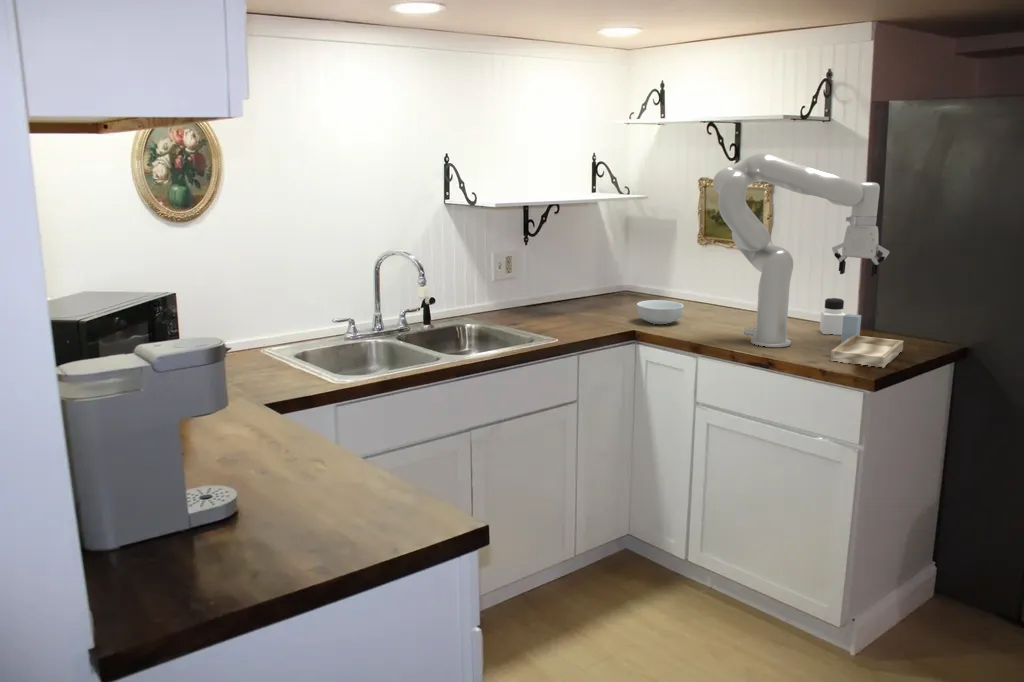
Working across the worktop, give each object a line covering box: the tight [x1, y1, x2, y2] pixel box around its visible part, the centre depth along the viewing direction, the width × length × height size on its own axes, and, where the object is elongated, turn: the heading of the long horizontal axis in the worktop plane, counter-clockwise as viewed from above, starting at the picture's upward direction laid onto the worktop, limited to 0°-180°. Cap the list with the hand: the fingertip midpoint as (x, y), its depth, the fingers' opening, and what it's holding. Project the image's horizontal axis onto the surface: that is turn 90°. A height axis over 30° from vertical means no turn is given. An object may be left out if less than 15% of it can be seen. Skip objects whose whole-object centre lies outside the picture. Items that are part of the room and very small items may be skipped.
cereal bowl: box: [636, 299, 684, 325], centre depth 307 cm, size 17×17×7 cm
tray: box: [829, 335, 904, 369], centre depth 256 cm, size 15×26×3 cm, turn 145°
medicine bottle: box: [819, 297, 846, 336], centre depth 288 cm, size 7×7×12 cm
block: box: [840, 313, 862, 344], centre depth 274 cm, size 4×4×9 cm
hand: (857, 275), depth 270 cm, fingers open, 9 cm apart
